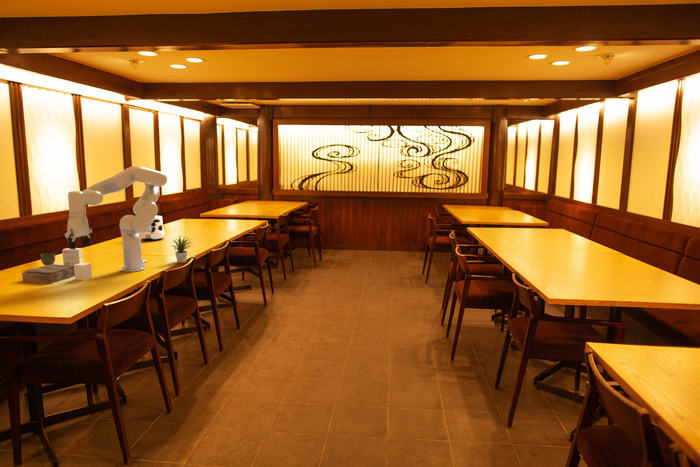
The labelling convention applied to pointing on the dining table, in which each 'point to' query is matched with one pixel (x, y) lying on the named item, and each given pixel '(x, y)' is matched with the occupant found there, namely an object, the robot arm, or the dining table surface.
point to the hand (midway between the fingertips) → (80, 247)
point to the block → (82, 271)
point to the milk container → (154, 230)
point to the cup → (48, 258)
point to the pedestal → (49, 273)
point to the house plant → (181, 250)
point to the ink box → (72, 256)
